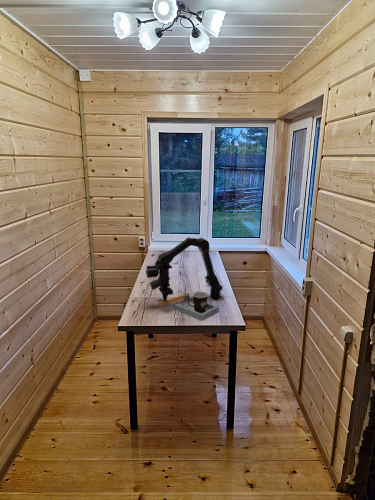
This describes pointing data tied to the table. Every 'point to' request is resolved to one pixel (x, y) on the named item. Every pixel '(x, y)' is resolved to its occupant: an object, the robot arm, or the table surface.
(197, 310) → the coffee mug
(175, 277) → the table surface
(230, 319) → the table surface
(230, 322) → the table surface
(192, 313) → the frame
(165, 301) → the orange bar
